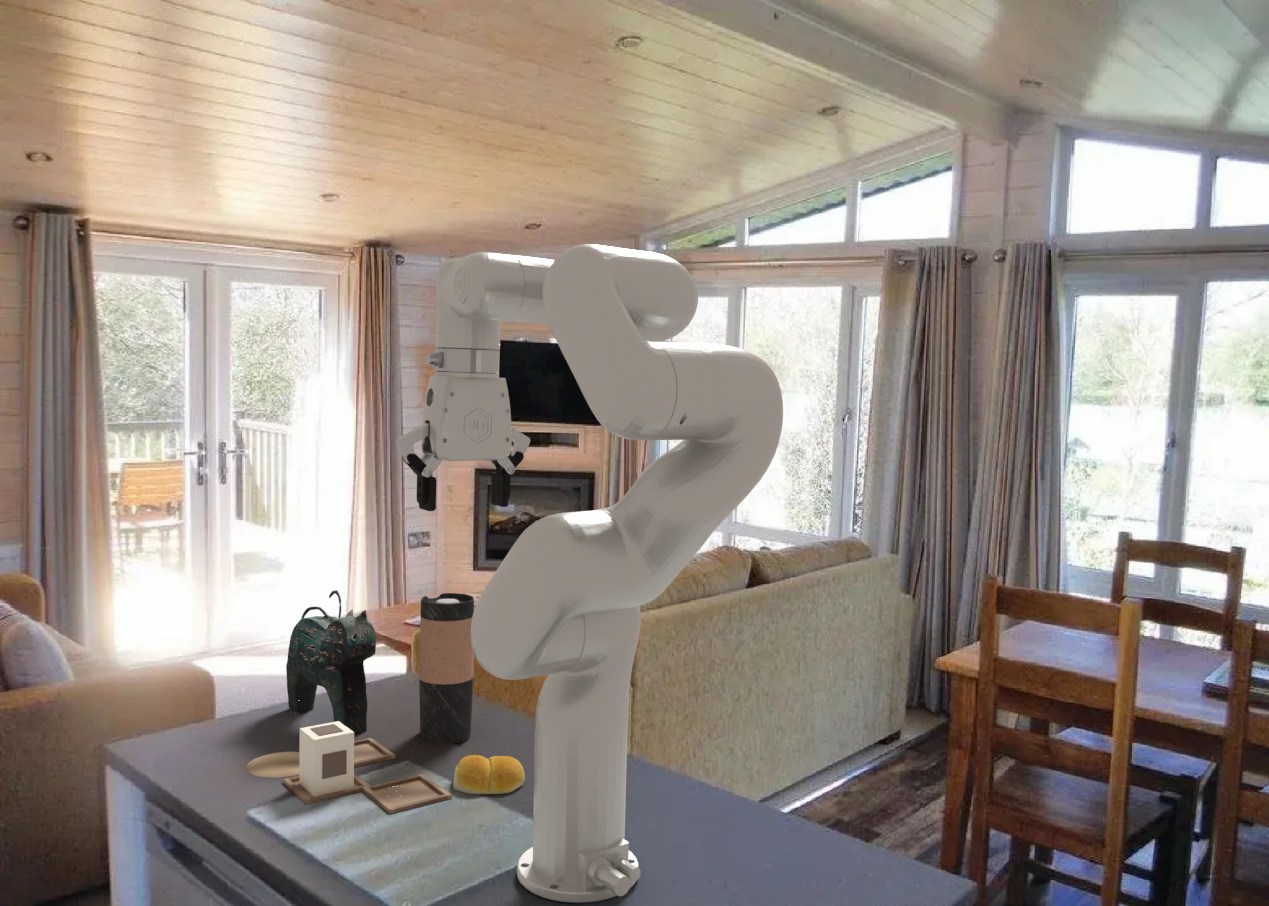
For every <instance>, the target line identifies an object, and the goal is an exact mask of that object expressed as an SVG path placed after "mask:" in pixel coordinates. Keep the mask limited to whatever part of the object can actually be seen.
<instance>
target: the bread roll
mask: <svg viewBox="0 0 1269 906" xmlns="http://www.w3.org/2000/svg"><path fill="white" fill-rule="evenodd" d="M454 768H455V770H454V775H453V782H452V785H453V790H455V791H458V792H461V793H464V794H469V795H489V794H490V795H491V794H492V795H493V794H497V795H500V794H501V795H503V794H509V793H512V792H514V791H516V790H517V789H519V788H520V787H522V786H523V785H524V783H525V779H526V773H525V770H524V769H525V768H524V767H523V765H522V763H521V762H520V761H519V760H518V759H516V758H515V757H513V756H510V755H509V756H508V755H507V756H506V755H504V756H503V755H494V756H491V757H490V756H489V758H486V757H485V756H482V755H480V754H469V755H466V756H464V757H462V758H461V759H460V760H459V761H458V763H457V765H456V766H455V767H454Z"/></svg>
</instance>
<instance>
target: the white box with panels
mask: <svg viewBox="0 0 1269 906" xmlns="http://www.w3.org/2000/svg"><path fill="white" fill-rule="evenodd" d="M354 741H355V734H354V732H353V731H352V730H350V729H349V728H348V727H346V726H345V725H343V724H342V723H341V722H339V721H336V722H334V721H331V722H325V723H321V724H316V725H315V724H314V725H311V726H305V727H299V751H298V752H299V774H298V776H299V784H300V785H302V786H303V787H304V788H305V789H306V790H307V791H308V792H309V793H310V794H311V795H313V796H314V797H315V796H319V795H324V794H328V793H333V792H337V791H341V790H346V789H350V788H354V773H355V767H354Z"/></svg>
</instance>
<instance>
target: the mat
mask: <svg viewBox="0 0 1269 906" xmlns="http://www.w3.org/2000/svg"><path fill="white" fill-rule="evenodd" d="M299 752H300V751H281V752H279V751H278V752H273V753H269V754H268V753H267V754H264V755H261V756H258V757H256V758H253V759H252V760H250V761H249V762H248V763H247V764H246V766H245V770H246V772H247V773H248V774H250V775H253V776H256V777H260V778H271V779H272V778H275V779H276V778H277V779H279V778H286V777H287V778H289V777H295V776H299Z"/></svg>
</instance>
